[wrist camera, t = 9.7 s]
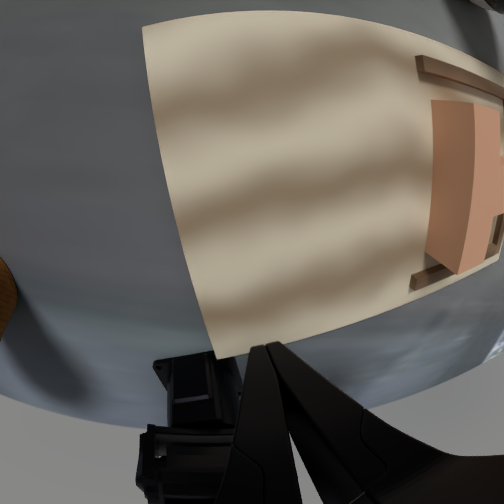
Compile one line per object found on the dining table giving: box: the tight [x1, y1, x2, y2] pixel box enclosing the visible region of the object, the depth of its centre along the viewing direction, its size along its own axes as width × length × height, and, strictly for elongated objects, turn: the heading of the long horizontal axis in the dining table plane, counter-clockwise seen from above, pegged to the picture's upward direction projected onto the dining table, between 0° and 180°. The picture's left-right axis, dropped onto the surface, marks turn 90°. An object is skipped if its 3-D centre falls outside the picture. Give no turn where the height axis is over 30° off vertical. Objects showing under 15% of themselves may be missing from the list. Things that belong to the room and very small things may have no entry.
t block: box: [425, 99, 504, 275], centre depth 15 cm, size 12×12×4 cm
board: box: [142, 11, 504, 359], centre depth 16 cm, size 22×34×2 cm, turn 98°
